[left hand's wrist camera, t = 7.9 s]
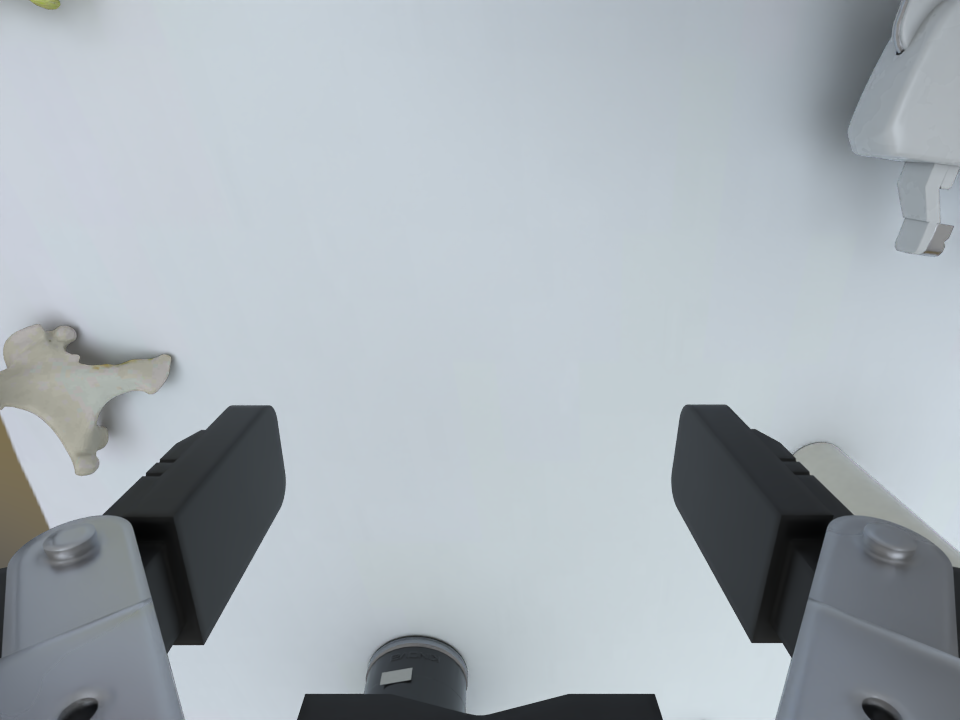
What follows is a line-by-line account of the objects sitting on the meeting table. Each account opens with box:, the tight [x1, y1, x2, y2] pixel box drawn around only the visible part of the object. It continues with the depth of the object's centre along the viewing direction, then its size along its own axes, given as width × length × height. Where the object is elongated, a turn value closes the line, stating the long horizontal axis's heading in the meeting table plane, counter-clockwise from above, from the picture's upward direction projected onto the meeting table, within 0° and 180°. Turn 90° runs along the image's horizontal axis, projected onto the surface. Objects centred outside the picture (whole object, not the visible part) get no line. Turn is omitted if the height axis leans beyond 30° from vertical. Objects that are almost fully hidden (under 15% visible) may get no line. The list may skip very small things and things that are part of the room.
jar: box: [793, 443, 960, 568], centre depth 36 cm, size 5×5×16 cm
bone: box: [0, 324, 171, 476], centre depth 39 cm, size 10×6×10 cm
